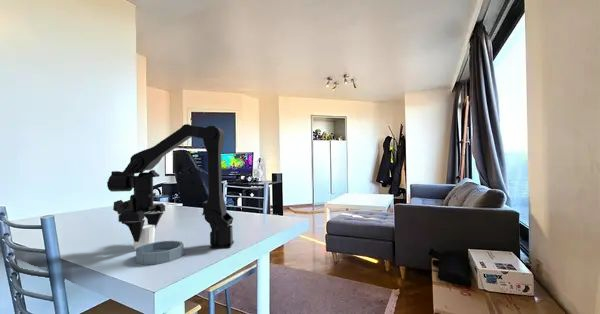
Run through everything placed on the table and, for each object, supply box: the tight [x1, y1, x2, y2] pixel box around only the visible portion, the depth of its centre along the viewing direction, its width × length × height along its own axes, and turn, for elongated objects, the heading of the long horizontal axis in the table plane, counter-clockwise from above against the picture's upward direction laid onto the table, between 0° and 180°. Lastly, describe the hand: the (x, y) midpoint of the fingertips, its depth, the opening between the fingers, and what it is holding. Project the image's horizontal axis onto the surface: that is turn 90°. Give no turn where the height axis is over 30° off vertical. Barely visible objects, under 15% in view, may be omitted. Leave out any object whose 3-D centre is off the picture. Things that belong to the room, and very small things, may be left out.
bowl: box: [135, 240, 185, 265], centre depth 87 cm, size 13×13×3 cm
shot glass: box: [132, 224, 156, 251], centre depth 97 cm, size 7×7×7 cm
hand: (144, 237), depth 97 cm, fingers open, 9 cm apart
